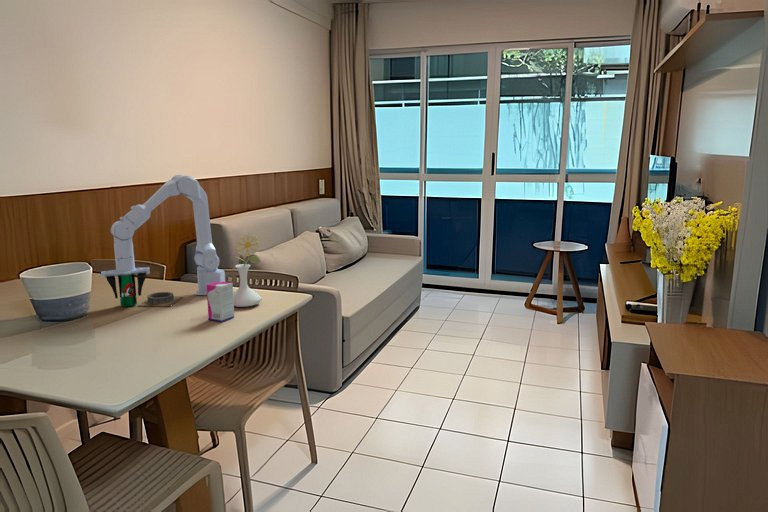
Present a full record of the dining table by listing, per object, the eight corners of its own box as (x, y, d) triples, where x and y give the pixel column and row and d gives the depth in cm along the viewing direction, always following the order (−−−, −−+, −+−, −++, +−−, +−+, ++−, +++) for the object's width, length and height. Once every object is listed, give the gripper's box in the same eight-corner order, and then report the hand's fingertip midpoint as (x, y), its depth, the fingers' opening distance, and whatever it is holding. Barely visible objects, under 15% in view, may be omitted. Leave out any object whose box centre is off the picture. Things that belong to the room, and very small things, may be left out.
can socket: (182, 297, 188) (182, 291, 188) (170, 306, 178) (169, 299, 177) (152, 297, 188) (151, 290, 188) (137, 306, 178) (137, 299, 177)
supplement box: (235, 317, 167) (233, 282, 165) (222, 322, 162) (220, 286, 160) (220, 314, 170) (218, 280, 167) (207, 320, 164) (205, 284, 162)
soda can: (140, 303, 181) (137, 269, 178) (131, 308, 176) (128, 273, 174) (126, 303, 181) (123, 269, 179) (117, 307, 176) (114, 272, 174)
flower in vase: (220, 307, 178) (216, 234, 173) (241, 298, 188) (238, 229, 183) (252, 311, 173) (249, 236, 168) (272, 302, 183) (269, 232, 178)
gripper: (100, 261, 168) (104, 302, 171) (149, 257, 175) (152, 296, 178) (99, 257, 174) (103, 296, 177) (147, 253, 181) (150, 291, 184)
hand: (128, 296), depth 178 cm, fingers open, 6 cm apart
